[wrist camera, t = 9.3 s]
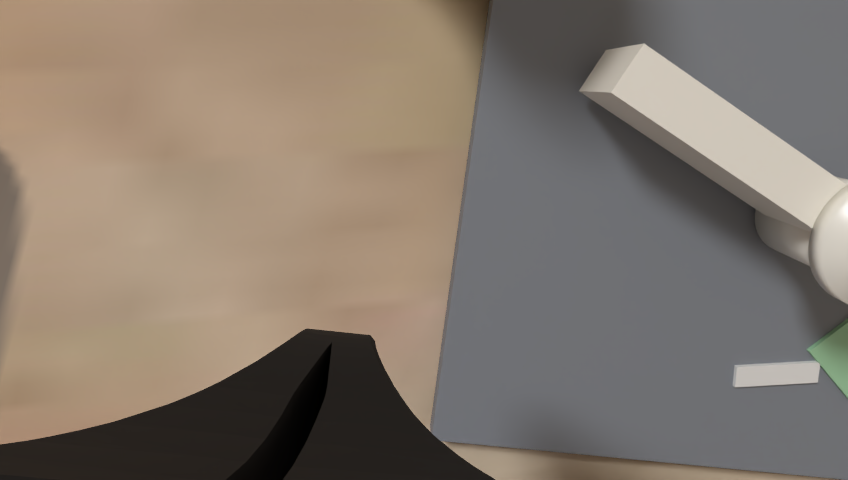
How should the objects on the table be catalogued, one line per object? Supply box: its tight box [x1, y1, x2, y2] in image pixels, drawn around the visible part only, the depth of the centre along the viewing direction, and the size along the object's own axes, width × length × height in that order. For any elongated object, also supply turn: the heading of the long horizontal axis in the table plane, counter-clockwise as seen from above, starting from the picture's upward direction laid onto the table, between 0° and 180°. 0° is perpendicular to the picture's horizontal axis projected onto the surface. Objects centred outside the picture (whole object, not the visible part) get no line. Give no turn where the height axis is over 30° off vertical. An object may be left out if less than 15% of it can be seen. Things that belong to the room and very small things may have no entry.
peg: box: [579, 43, 848, 304], centre depth 17 cm, size 15×4×4 cm, turn 58°
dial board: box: [430, 0, 848, 480], centre depth 20 cm, size 18×22×1 cm
